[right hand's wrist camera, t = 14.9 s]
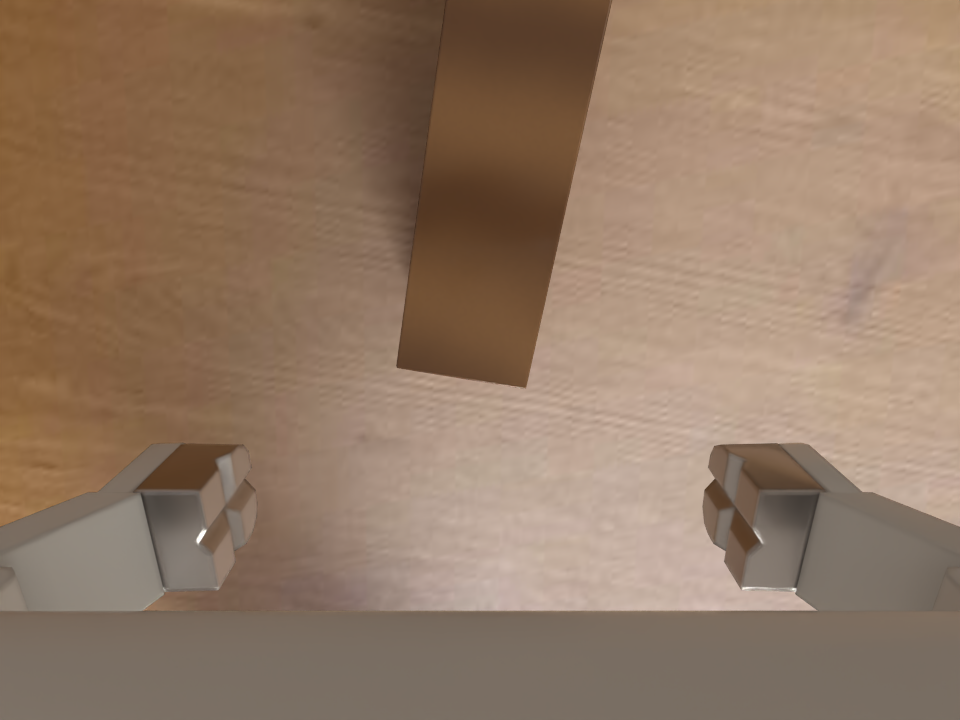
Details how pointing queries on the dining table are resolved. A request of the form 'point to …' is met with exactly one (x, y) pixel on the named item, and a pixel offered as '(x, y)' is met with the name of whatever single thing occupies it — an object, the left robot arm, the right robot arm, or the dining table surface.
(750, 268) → the dining table surface
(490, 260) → the box
